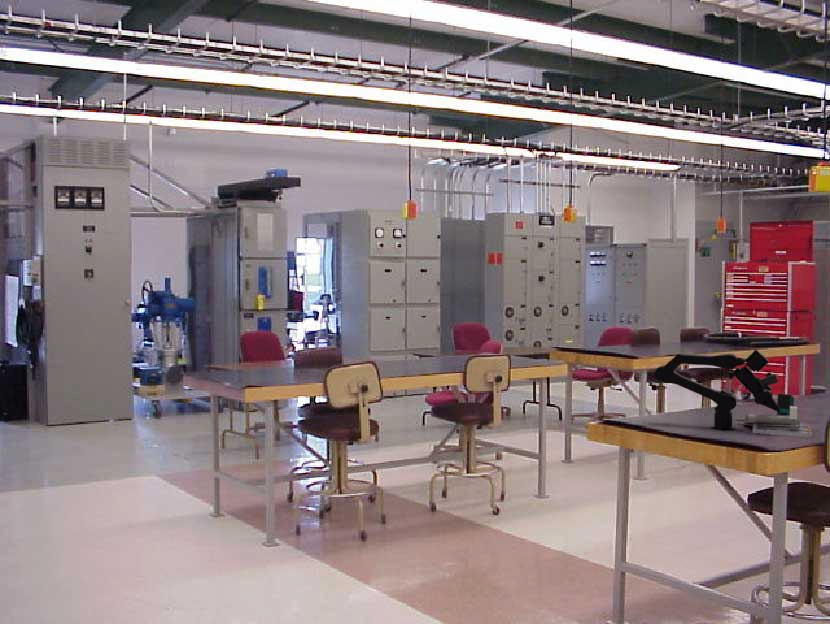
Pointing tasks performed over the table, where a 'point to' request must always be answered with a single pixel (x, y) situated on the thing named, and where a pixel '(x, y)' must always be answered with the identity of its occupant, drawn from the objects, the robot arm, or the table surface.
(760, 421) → the geiger counter
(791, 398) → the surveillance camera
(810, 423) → the table surface
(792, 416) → the cap
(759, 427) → the fader console
